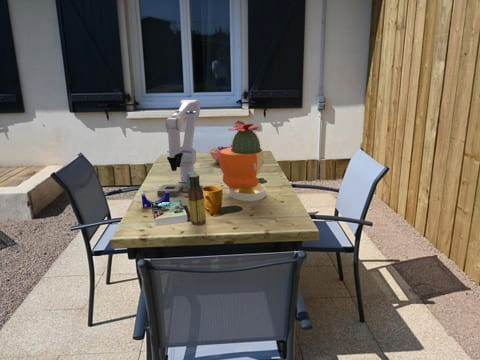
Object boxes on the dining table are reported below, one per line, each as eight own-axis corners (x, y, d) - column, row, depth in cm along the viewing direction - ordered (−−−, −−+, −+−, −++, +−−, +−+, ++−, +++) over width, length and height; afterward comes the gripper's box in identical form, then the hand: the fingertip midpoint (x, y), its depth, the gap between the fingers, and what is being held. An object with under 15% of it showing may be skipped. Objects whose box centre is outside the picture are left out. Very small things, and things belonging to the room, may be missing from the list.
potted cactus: (254, 185, 212) (253, 117, 202) (273, 198, 192) (273, 123, 182) (214, 191, 204) (211, 120, 195) (229, 205, 185) (227, 127, 175)
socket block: (163, 189, 209) (163, 184, 208) (182, 189, 208) (182, 184, 207) (157, 196, 199) (157, 191, 198) (177, 196, 198) (177, 191, 197)
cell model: (211, 159, 268) (210, 142, 265) (242, 159, 267) (241, 142, 264) (208, 166, 252) (207, 148, 249) (241, 165, 251) (240, 147, 248)
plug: (189, 187, 209) (188, 172, 207) (196, 187, 209) (196, 172, 207) (187, 189, 205) (186, 174, 203) (195, 189, 205) (194, 174, 203)
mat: (185, 186, 212) (185, 185, 212) (202, 187, 211) (202, 185, 211) (181, 192, 203) (181, 191, 203) (199, 192, 203) (199, 191, 202)
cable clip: (168, 202, 191) (167, 189, 189) (170, 205, 186) (169, 192, 185) (142, 205, 187) (140, 192, 185) (143, 208, 183) (141, 195, 181)
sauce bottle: (206, 219, 168) (204, 172, 163) (205, 225, 162) (203, 177, 157) (190, 220, 168) (187, 173, 162) (189, 226, 162) (186, 177, 156)
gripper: (170, 139, 210) (171, 165, 214) (162, 144, 196) (164, 172, 200) (183, 139, 210) (185, 165, 213) (177, 144, 196) (178, 172, 199)
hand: (176, 168), depth 206 cm, fingers open, 7 cm apart
